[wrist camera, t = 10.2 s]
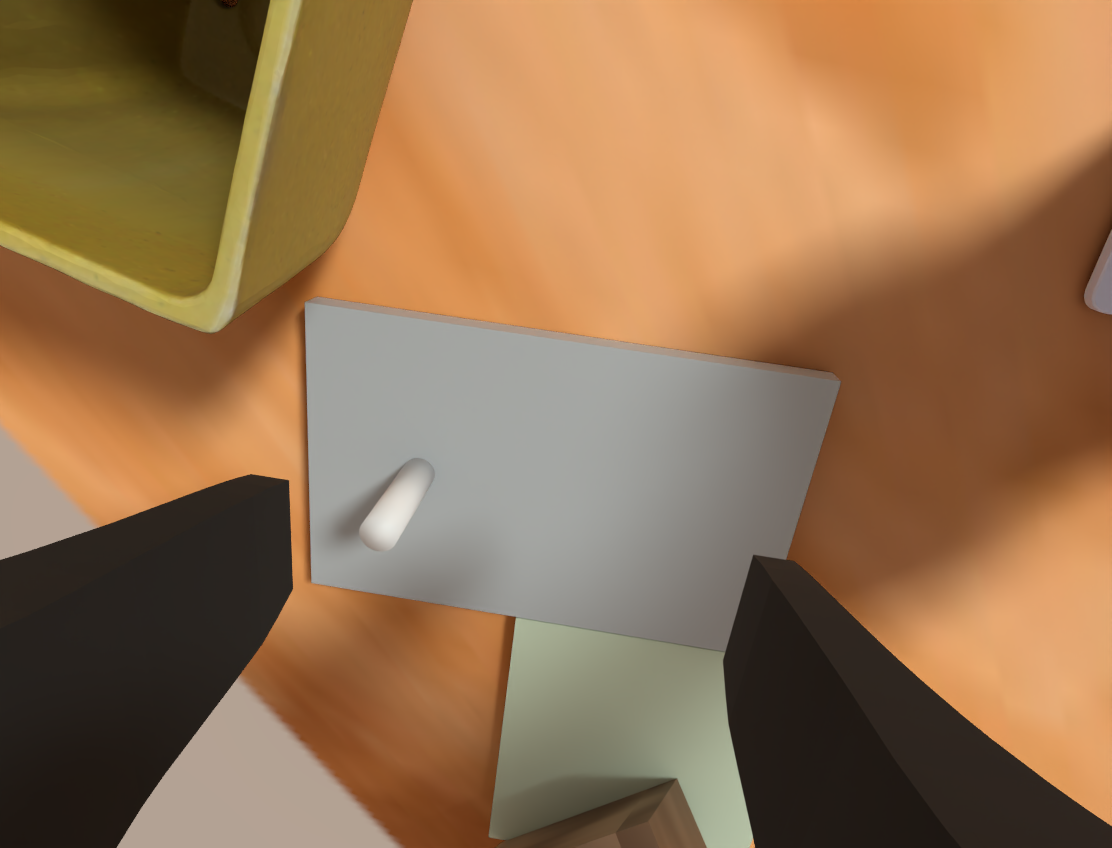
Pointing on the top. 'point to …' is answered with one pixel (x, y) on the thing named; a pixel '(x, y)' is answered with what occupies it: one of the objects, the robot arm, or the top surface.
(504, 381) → the stand
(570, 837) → the c link
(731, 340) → the top surface
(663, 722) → the pad
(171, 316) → the flower pot
